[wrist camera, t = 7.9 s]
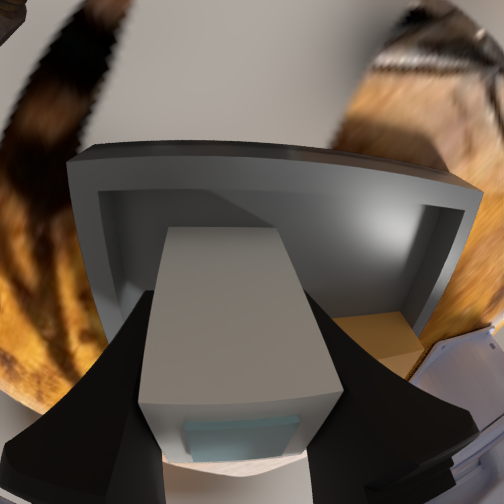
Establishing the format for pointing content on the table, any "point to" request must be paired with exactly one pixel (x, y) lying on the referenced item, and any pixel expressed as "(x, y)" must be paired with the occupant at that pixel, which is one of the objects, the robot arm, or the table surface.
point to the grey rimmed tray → (280, 226)
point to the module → (233, 350)
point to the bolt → (11, 17)
